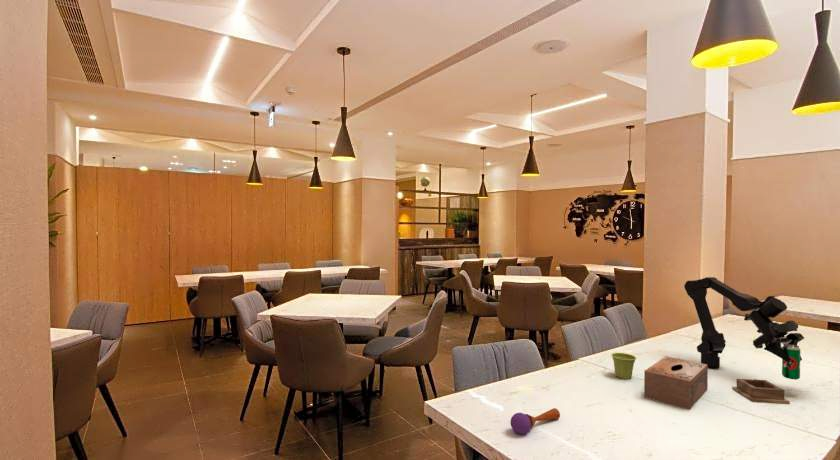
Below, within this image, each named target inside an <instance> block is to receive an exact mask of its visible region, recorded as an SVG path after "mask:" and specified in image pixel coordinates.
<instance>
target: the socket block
mask: <svg viewBox="0 0 840 460" xmlns="http://www.w3.org/2000/svg"><path fill="white" fill-rule="evenodd" d="M731 389H732V391H735V392H736V393H738V394H740V395H741V396H742V397H744V398H746V399H747V400H749V401H750V402H751V403H763V404H764V403H765V404H781V405H782V404H784V405H790V404H791V403H790V400H789V399H787V398H785V397H786V396H785V390H784V389H783V388H781V387H779V385H778V386H777V385H775V384H773V383H772V382H770V381H768V380H766V379H750V378H749V379H748V378H736V386H732V387H731Z"/></svg>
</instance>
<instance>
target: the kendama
mask: <svg viewBox="0 0 840 460" xmlns="http://www.w3.org/2000/svg"><path fill="white" fill-rule="evenodd" d="M560 417H561V413H560V411H559V409H558V408H555V407H554V408H552V409H549V410H547V411H545V412H543V413H541V414H538V415H537V416H533V415H530V414H528V413H523V412H516V413H514V414H513V415H512V416H511V418H510V421H509V422H510V423H509V424H510V427H511V429H512V430H513V432H514V433H516V434H517V435H526V434H527V433H529V431H530V430H531V429H532V428H533V427H534V425H535V424H536V422H542V421H543V422H544V421H552V420H560Z"/></svg>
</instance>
